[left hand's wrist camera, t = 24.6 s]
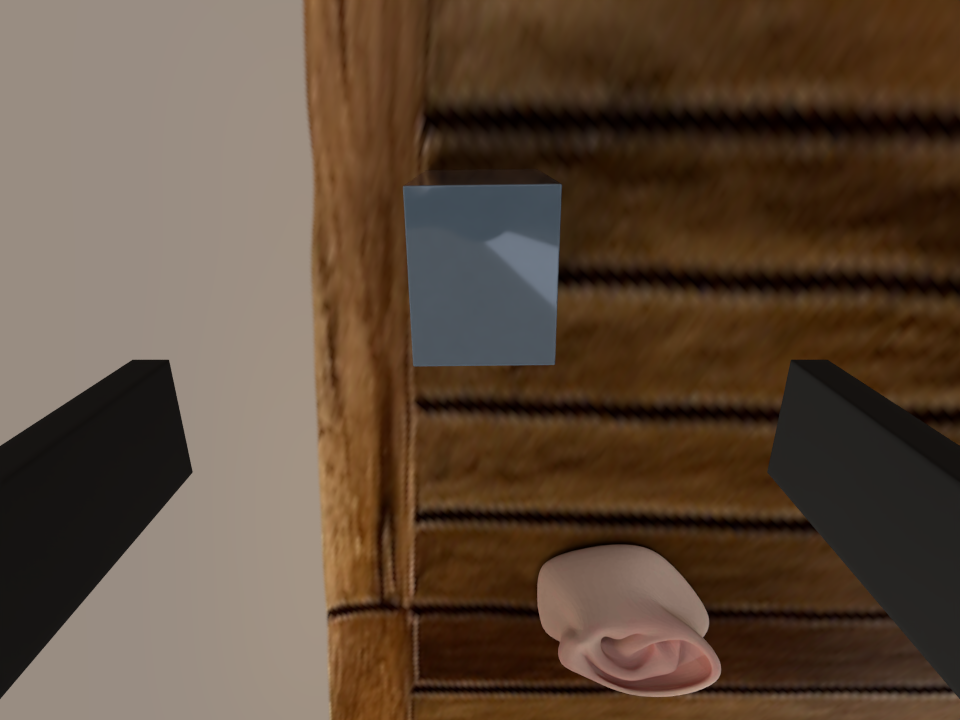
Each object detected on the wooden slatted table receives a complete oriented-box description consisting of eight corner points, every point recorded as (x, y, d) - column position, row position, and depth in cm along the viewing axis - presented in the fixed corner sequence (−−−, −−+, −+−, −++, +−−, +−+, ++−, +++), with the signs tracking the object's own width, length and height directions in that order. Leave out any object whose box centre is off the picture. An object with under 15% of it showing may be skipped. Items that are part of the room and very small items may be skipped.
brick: (431, 303, 35) (413, 366, 26) (425, 170, 32) (402, 185, 23) (534, 302, 35) (555, 365, 26) (537, 168, 32) (562, 183, 23)
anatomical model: (512, 617, 39) (672, 550, 37) (509, 575, 42) (655, 512, 40) (594, 738, 43) (742, 683, 41) (585, 690, 47) (720, 638, 45)
